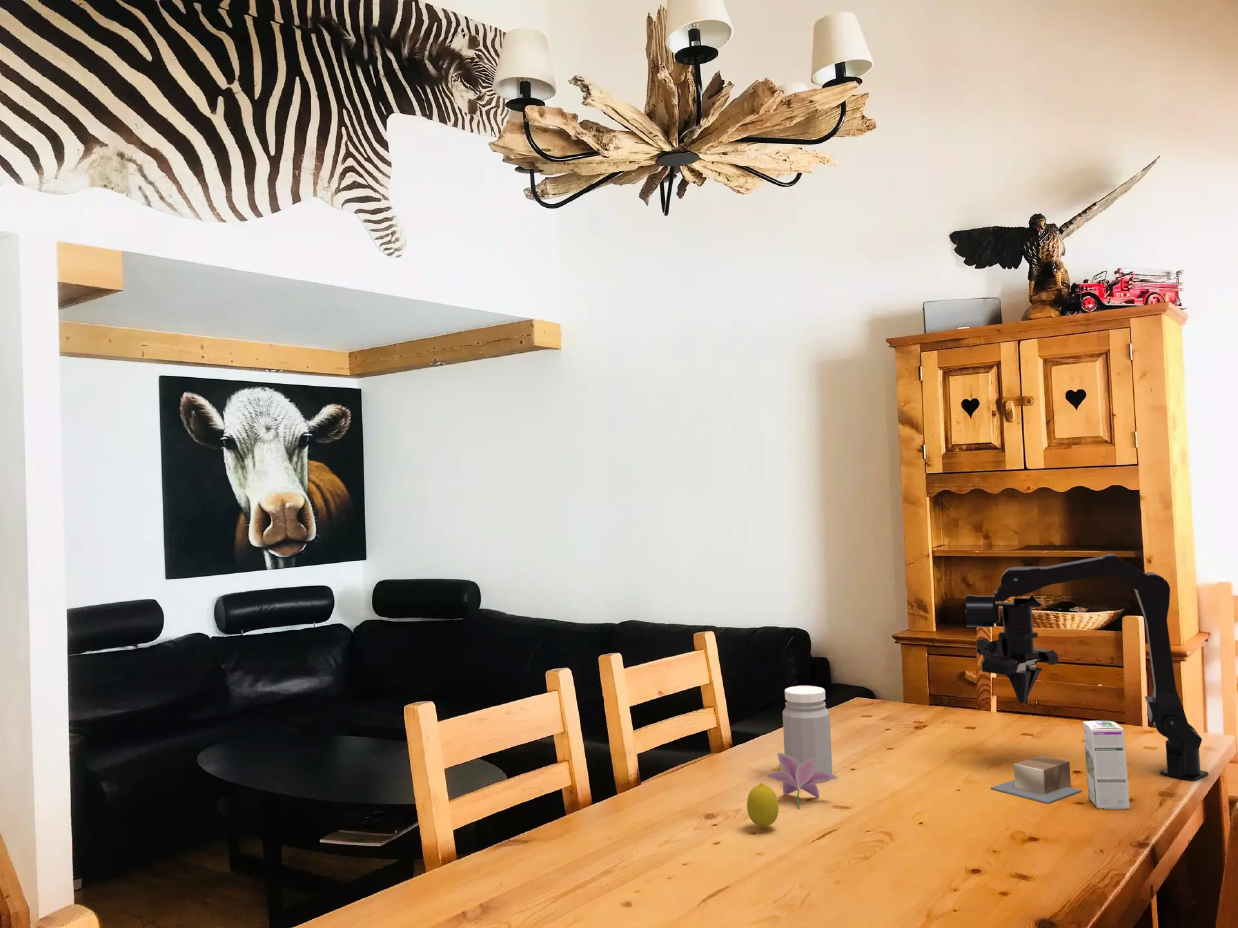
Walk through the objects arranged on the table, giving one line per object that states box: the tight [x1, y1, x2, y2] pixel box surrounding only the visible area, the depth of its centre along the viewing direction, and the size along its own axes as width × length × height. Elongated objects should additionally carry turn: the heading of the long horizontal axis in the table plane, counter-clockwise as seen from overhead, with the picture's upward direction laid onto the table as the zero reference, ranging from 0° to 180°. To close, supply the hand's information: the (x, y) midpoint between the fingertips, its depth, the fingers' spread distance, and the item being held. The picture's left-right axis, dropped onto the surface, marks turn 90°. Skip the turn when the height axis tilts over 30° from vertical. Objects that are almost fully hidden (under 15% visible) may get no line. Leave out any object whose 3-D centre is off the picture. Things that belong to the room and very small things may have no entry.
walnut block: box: [1013, 755, 1072, 795], centre depth 186 cm, size 4×6×9 cm
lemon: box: [746, 782, 780, 830], centre depth 170 cm, size 6×6×8 cm
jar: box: [782, 685, 833, 774], centre depth 200 cm, size 10×10×18 cm
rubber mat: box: [990, 779, 1083, 805], centre depth 185 cm, size 11×12×1 cm
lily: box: [766, 752, 838, 810], centre depth 183 cm, size 12×12×10 cm
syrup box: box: [1082, 720, 1131, 810], centre depth 175 cm, size 6×6×14 cm
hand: (1022, 702), depth 202 cm, fingers closed
